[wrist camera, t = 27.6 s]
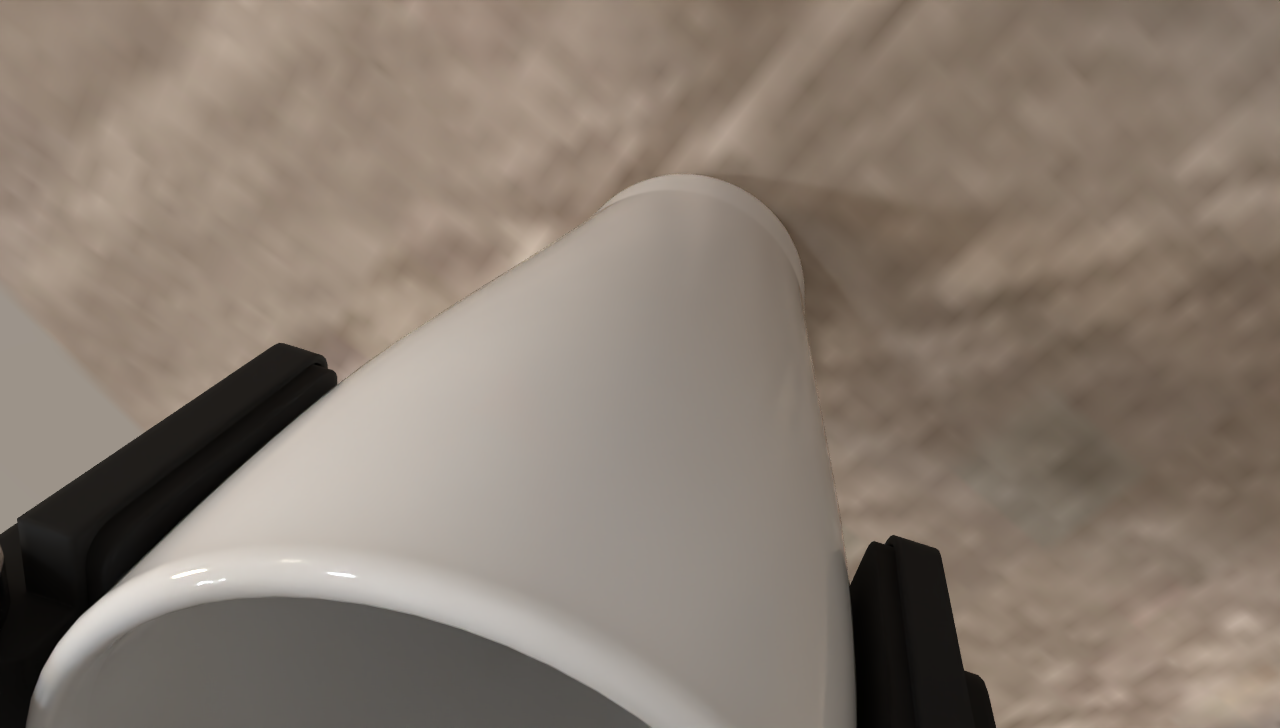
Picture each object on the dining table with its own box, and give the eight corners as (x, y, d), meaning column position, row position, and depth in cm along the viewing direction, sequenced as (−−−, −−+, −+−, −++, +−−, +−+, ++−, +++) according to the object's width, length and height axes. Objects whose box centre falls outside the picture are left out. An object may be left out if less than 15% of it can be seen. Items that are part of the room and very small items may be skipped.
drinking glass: (900, 302, 19) (1080, 1082, 6) (678, 457, 22) (446, 1223, 8) (702, 66, 18) (329, 342, 4) (494, 262, 21) (-123, 798, 7)
